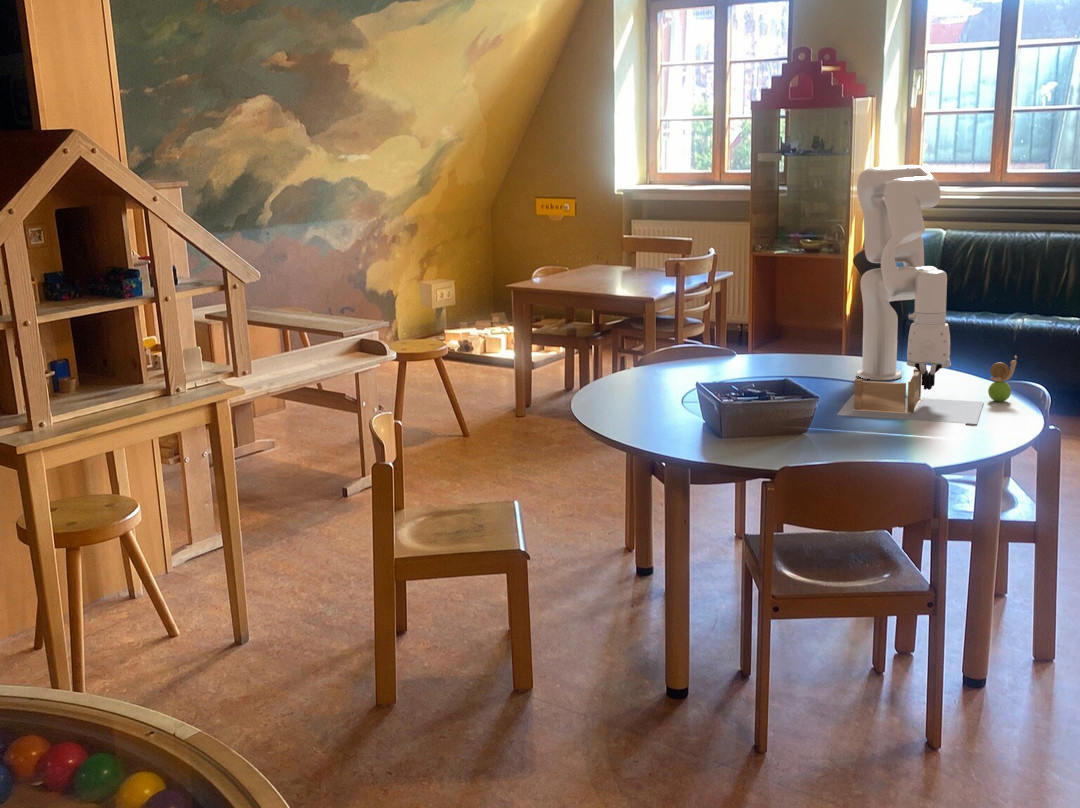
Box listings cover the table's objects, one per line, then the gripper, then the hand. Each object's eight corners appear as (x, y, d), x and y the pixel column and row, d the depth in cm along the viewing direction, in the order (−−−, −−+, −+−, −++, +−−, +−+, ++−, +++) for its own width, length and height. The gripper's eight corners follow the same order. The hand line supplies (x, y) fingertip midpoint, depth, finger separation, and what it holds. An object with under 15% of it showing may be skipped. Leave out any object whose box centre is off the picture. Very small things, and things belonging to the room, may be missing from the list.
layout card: (852, 395, 281) (852, 394, 281) (983, 403, 266) (983, 401, 266) (836, 416, 262) (836, 414, 262) (976, 425, 247) (976, 423, 247)
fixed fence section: (855, 407, 267) (855, 378, 265) (905, 411, 262) (906, 381, 260) (853, 409, 266) (854, 380, 264) (904, 412, 260) (905, 382, 258)
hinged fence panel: (906, 411, 260) (907, 382, 258) (913, 395, 275) (914, 368, 273) (914, 411, 259) (915, 383, 257) (920, 395, 274) (921, 368, 272)
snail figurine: (1016, 404, 264) (1019, 358, 261) (990, 404, 265) (992, 358, 262) (1011, 398, 269) (1014, 353, 266) (985, 399, 270) (987, 354, 267)
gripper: (896, 320, 263) (895, 390, 267) (959, 321, 256) (956, 393, 260) (902, 315, 270) (900, 384, 274) (963, 317, 262) (960, 387, 267)
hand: (927, 388), depth 267 cm, fingers closed
